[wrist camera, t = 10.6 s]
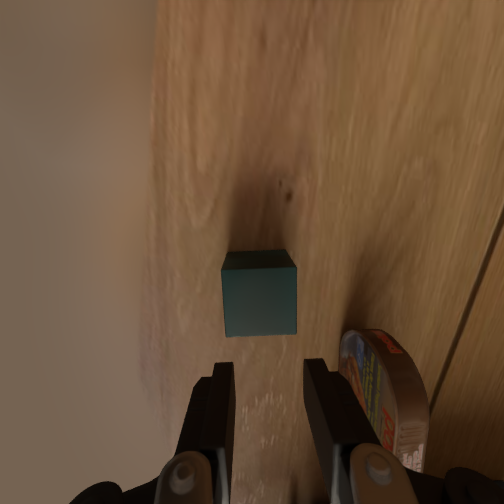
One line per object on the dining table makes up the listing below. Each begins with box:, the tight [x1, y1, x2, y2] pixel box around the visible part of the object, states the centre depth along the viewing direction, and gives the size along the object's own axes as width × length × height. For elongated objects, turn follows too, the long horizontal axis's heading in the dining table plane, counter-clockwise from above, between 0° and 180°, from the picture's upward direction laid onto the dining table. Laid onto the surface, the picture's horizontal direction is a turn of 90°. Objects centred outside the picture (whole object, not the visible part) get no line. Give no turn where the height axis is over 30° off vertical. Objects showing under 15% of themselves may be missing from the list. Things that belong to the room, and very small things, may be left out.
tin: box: [339, 329, 430, 473], centre depth 21 cm, size 15×3×8 cm, turn 2°
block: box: [221, 250, 297, 337], centre depth 20 cm, size 5×5×5 cm
